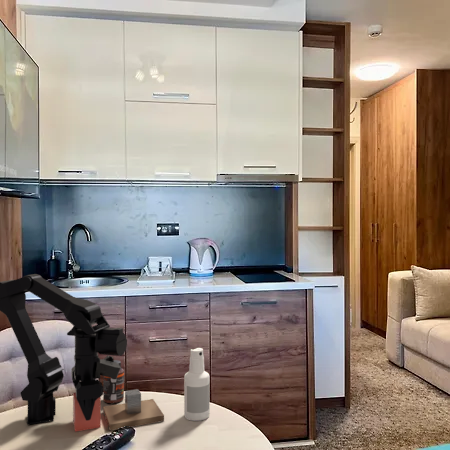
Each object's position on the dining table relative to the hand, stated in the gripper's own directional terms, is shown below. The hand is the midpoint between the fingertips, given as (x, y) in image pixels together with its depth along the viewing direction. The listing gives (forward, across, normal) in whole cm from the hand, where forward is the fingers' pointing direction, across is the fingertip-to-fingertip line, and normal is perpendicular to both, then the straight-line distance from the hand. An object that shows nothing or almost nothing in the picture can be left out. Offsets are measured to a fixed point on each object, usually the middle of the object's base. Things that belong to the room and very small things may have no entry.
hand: (86, 412), depth 114 cm
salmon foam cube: (+3, 0, 0) cm, 3 cm away
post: (+1, 0, -12) cm, 12 cm away
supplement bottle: (+3, +13, -9) cm, 17 cm away
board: (+3, 0, -12) cm, 12 cm away
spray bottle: (+3, -6, -28) cm, 29 cm away
